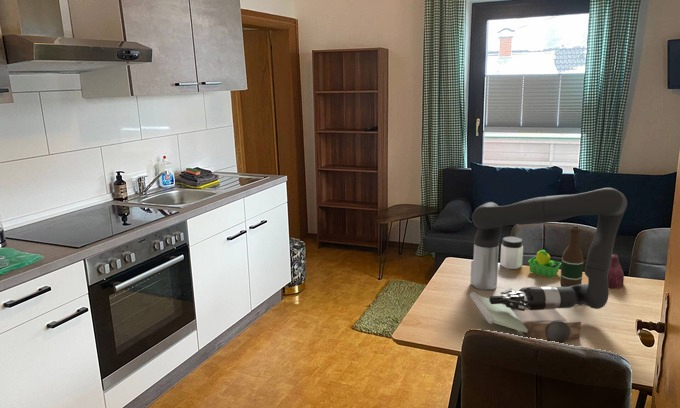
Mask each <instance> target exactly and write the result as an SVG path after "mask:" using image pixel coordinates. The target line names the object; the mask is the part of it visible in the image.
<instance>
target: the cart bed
mask: <svg viewBox="0 0 680 408" xmlns="http://www.w3.org/2000/svg"><path fill="white" fill-rule="evenodd" d="M527 287H528V286H526V287H522V288H520V289H518V291H521V292H524V291H525V289H526V288H527ZM510 309H511V310H512V311H513V312H514V313H515V315H516V316H517V317H518V318H519V320H520V321H521V322H522V323H523V324H524V326H525V327H526V328H527V329H528V332H527V333H525V334H526V336H527V337H528V338H529V337H531V338H536V339H543V340H550V342H552V341H555V342H561V343H560V344H562V343H564V342H566V341H571V340H573V341H574V340H580V338H581V337H580V336H581V329H582V328H581V326H582V320H579V319H574V320H567V319H566V318H565V317H564V316H563V315H562V314H561V313H560V312H559V311H558V310H557V309H550V310H529V309H528V308H527V307H525V311H521V310H517V309H512V308H510Z"/></svg>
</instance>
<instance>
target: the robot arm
mask: <svg viewBox="0 0 680 408" xmlns="http://www.w3.org/2000/svg"><path fill="white" fill-rule="evenodd" d="M627 206H628V200H627V197H626V196H625V194H624V193H623V192H621V191H619V190H618V189H616V188H613V187H603V188H599V189H594V190H591V191H587V192H581V193H575V194H559V195H557V194H556V195H546V196H538V197H534V198H533V197H532V198H529V199H524V200H520V201H518V202H514V203H512V204H507V205H498V204H497V203H495V202H494V201H488V202H485V203H483V204H481V205H479V206H478V207H476V208H475V209H474V211H473V212H472V215H471V221H472V223H473V225H474V226H475V227H476V228H477V231H476V233H475V236H474V239H473V240H474V241H473V260H472V261H471V262H470V283H469V284H471V285H472V286H473V287H474V288H475V289H478V290H482V291H483V290H484V291H490V290H495V289H497V286H498V272H499V271H498V266H499V247H500V240H501V237H502V230H503V227H507V226H512V225H514V226H515V225H531V224H532V225H535V224H545V223H546V224H547V223H554V222H559V221H563V220H566V219H570V218H574V217H577V216H578V217H580V216H597V217H598V219H597V224H596V225H597V226H596V229H595V233H594V235H593V238H592V241H591V243H590V246H589V249H588V251H587V252H588V253H587V256H586V263H585V267H584V275H585V276H586V277H587V279H588V282H587V283H588V284H587V283H586V284H585V283H581V284H579V285H573V286H569V287H561V286H550V285H549V286H526V287H527V288H526V289H525V291H524V292H521V291H519V290H517V291H514V289H513V288H511V287H510V288H509V287H508V288H507V289H505V290H503V291H501V292H500V295H491V296H489V297H488V298H489V302H490V303H491V304H502V305H506V307H508V308H512V309H517V310H521V311H525V307H527V308H528V309H529V310H550V309H556V310H557V309H571V308H573V307H574V306H578V305H579V306H581V305H583V306H587V307H589V308H591V309H593V310H594V309H595V310H599V309H602V308H604V307H605V305H607V302H608V300H609V293H610V291H609V289H610V288H609V286H608V273H609V268H610V263H611V258H612V255H613V251H614V245H615V241H616V237H617V234H618V231H619V227H620V224H621V221H622V219H623V217H624V214H625V212H626V209H627Z"/></svg>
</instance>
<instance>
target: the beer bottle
mask: <svg viewBox="0 0 680 408" xmlns="http://www.w3.org/2000/svg"><path fill="white" fill-rule="evenodd" d="M569 231H570V233H569V241H568V246H566V248H565V249H564V251H563V253H562V256H561V266H560V278H559V279H560V280H559V283H560V287H569V286H573V285H579V284H583V283H582V282H583V274H584V271H583V269H584V255H583V252H582V250H581V248H580V244H581V243H580V237H581V236H580V233H581V232H582V229H581V228H580V227H579V226H572V227H570V229H569Z"/></svg>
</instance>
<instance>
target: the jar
mask: <svg viewBox="0 0 680 408" xmlns="http://www.w3.org/2000/svg"><path fill="white" fill-rule="evenodd" d="M500 245H501V246H500V260H499V261H500V263H499V265H501V267H503V268H505V269H509V270H510V269H512V270H518V269H519V268H522V267H523V257H524V256H523V255H524V254H523V253H524V245H523V239H522V238H520V237H517V236H504V237H502V243H501V244H500Z"/></svg>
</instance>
